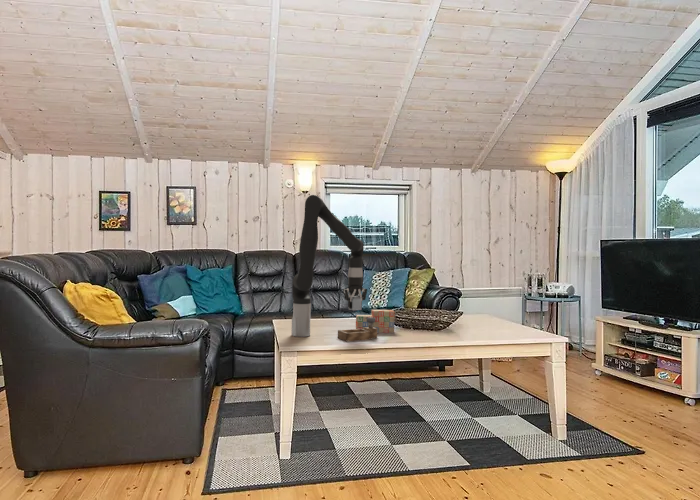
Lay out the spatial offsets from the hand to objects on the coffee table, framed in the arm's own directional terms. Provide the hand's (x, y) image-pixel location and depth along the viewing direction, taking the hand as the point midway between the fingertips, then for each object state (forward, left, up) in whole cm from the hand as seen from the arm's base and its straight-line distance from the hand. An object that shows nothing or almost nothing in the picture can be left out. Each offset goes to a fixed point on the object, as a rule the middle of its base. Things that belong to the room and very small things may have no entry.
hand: (355, 308), depth 264 cm
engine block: (0, 0, -1) cm, 1 cm away
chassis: (+1, -3, -15) cm, 16 cm away
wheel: (+8, -3, -7) cm, 11 cm away
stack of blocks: (+20, +13, -16) cm, 28 cm away
